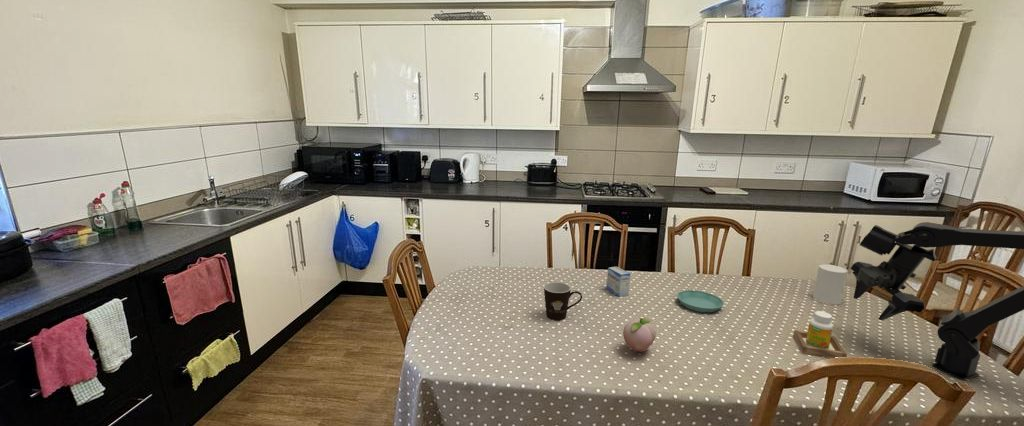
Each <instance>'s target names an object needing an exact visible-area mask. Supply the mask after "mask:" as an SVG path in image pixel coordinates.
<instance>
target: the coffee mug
mask: <svg viewBox="0 0 1024 426" xmlns="http://www.w3.org/2000/svg"><path fill="white" fill-rule="evenodd" d="M571 287H572V286H570V285H569V284H568V283H565V282H559V281H553V282H548V283H545V284H544V285H543V293H544V294H543V295H544V304H545V315H546V316H545V317H546V318H547V319H549V320H551V321H554V322H555V321H557V322H561V321H564V320H566V318H567V314H568V310H569V309H571V308H572V307H574V306H577V304H579V303H580V302H581V301H582V300H583V294H582V293H581V292H580V291H577V290H574V291H572V292H571V290H572V288H571ZM574 294H578V295H579V296H580V297H579V299H578V301H576V302H574V303H573V304H571V305H569V303H570V298H571V297H572V295H574Z"/></svg>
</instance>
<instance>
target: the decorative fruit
mask: <svg viewBox="0 0 1024 426" xmlns="http://www.w3.org/2000/svg"><path fill="white" fill-rule="evenodd" d="M651 322H652V320H651V319H649V318H648V317H640V319H637V318H635V319H632V320H630V321H628V322H627V323H626V324H625V325H624V327H623V329H622V331H623V332H622V335H623V339H624V342H625V343H626V345H627V347H628V348H630V349H631V350H633V351H636V352H639V353H640V352H644V351H646V350H648V349H649V348H650V346H652V345H653V343H654V341H655V340H656V338H657V331H656V328H655V327H654V325H653V324H652V323H651Z"/></svg>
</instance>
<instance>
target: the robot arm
mask: <svg viewBox="0 0 1024 426" xmlns="http://www.w3.org/2000/svg"><path fill="white" fill-rule="evenodd" d="M859 246H860V247H862V248H865V249H867V250H869V251H871V252H873V253H875V254H877V255H880V256H883V255H885V256H886V254H887V255H888V256H889V255H891V253H892V251H893V250H894V249H895V247H896V246H898V247H897V249H896V250H895V251H894V253H893V254H892V255H891V257H890V258H889V259H887V261H885V260H883V261H882V262H881V263H880V264H879V265H876V266H875V265H873V264H872V263H868V262H862V261H856V262H854V263H853V264H852V265H851V266H850V269H849V270H852V274H853V275H854V277H855V279H856V282H855V287H854V293H853V299H856V300H858V299H859V298H860V297H862V296H863V295H864V294H865V293H866V292H867V291H868V290H869V289H870V288H872V287H879V288H880V289H881V288H883V289H885V291H887V292H889V293H890V294H891V295H892V296H891V300H890V299H888V301H887V302H888V304H887V306H886V308H884V310H883V311H882V312H881V314H880V315H879V317H878V321H885V320H886V319H889V318H892V317H894V316H896V315H899V314H902V313H905V312H917V313H922V311H924V309H925V307H926V304H925V301H922V300H921V299H920V298H918V297H917V296H916V295H914V294H912V293H905V292H902V291H901V290H903V291H904V290H905V289H906V288H907V285H905V283H906V282H907V281H908V280H909V278H915V277H916V276H917V274H916V273H914V272H915V271H916V270H917V268H919V266H920V265H921V264H922V263H923V261H924V260H925V259H928V260H930V261H932V262H935V261H936V260H937V255H936V253H935V249H934V248H944V247H952V246H971V247H972V246H973V247H983V248H985V247H986V248H987V247H988V248H1001V249H1013V250H1014V249H1015V250H1024V231H1016V230H1014V231H1013V230H995V229H975V228H974V229H973V228H961V227H955V226H951V225H946V224H941V223H937V222H936V223H935V222H930V221H926V222H925V221H923V222H919V223H918V224H916V225H914V226H913V228H912V229H909V230H906V231H902V232H899V233H898V234H896V233H894V232H891V231H889V230H886V229H885V228H883V227H881V226H879V225H877V224H874V226H873V227H872V228H871V229H870V231H869V232H868V233H867V234H866V235H864V236H863V239H862V240H861V241H860V243H859ZM927 248H928V249H927ZM929 248H931V249H929ZM1023 311H1024V285H1021V286H1019V287H1018V288H1016V289H1014V290H1012V291H1009V292H1008V293H1006V294H1004V295H1002V296H1000V297H998V298H996V299H994V300H992V301H990V302H988V303H986V304H984V305H981V306H980V307H978V308H976V309H973V310H971V311H964V312H963V311H962V310H961V309H960V307H959V308H956V309H955V310H953V311H952V312H950V313H948V314H943V315H942V318H941V320H940V321H939V324H938V326H937V327H938V328H937V336H938V339H939V340H941V341H942V342H943V343H941V346H940V347H939V348H938V349H937V352H936V356H935V359H934V362H935V363H932V364H931V366H932V367H934V368H936V369H937V370H941V371H943V372H945V373H947V374H949V375H951V376H953V377H955V378H958V379H960V380H966V379H972V378H975V377H979V375H980V374H979V373H977V372H976V371H977V368H978V364H979V361H980V357H981V354H980V341H979V339H978V338H977V337H978V336H979V335H980V334H981V333H982V332H984V331H985V330H986V329H987V328H989V327H990V326H992V325H994V324H996V323H998V322H1001V321H1003V320H1006V319H1007V318H1010V317H1011V316H1014V315H1016V314H1018V313H1020V312H1023Z"/></svg>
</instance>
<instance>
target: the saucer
mask: <svg viewBox="0 0 1024 426" xmlns="http://www.w3.org/2000/svg"><path fill="white" fill-rule="evenodd" d="M676 296H677V299H678V301H679V302H680V303H681V304H682V305H683V306H684V307H685V308H686V309H689V310H692V311H695V312H699V313H712V312H717V310H719V309H721V308H722V307H723V306H724V305H725V303H724V300H722V298H720V297H718V296H716V295H714V294H712V293H708V292H705V291H701V290H689V289H688V290H682V291H679V292H677V294H676Z"/></svg>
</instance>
